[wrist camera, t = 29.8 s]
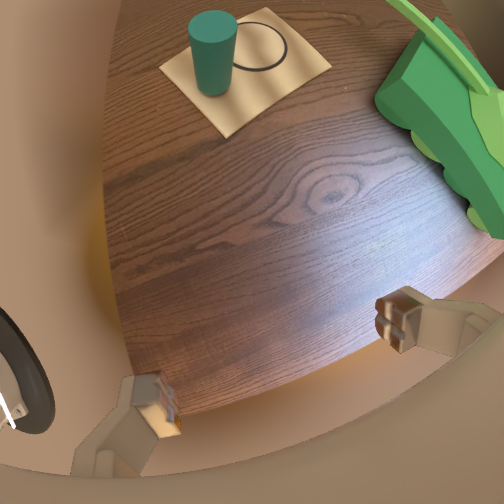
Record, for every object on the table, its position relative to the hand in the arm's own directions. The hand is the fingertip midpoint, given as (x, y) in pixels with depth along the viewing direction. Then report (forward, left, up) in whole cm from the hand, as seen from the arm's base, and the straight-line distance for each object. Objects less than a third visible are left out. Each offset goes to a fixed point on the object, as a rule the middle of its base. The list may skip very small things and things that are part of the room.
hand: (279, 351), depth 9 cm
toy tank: (+34, -3, -20) cm, 40 cm away
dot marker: (+10, +16, -20) cm, 27 cm away
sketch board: (+15, +16, -20) cm, 30 cm away
